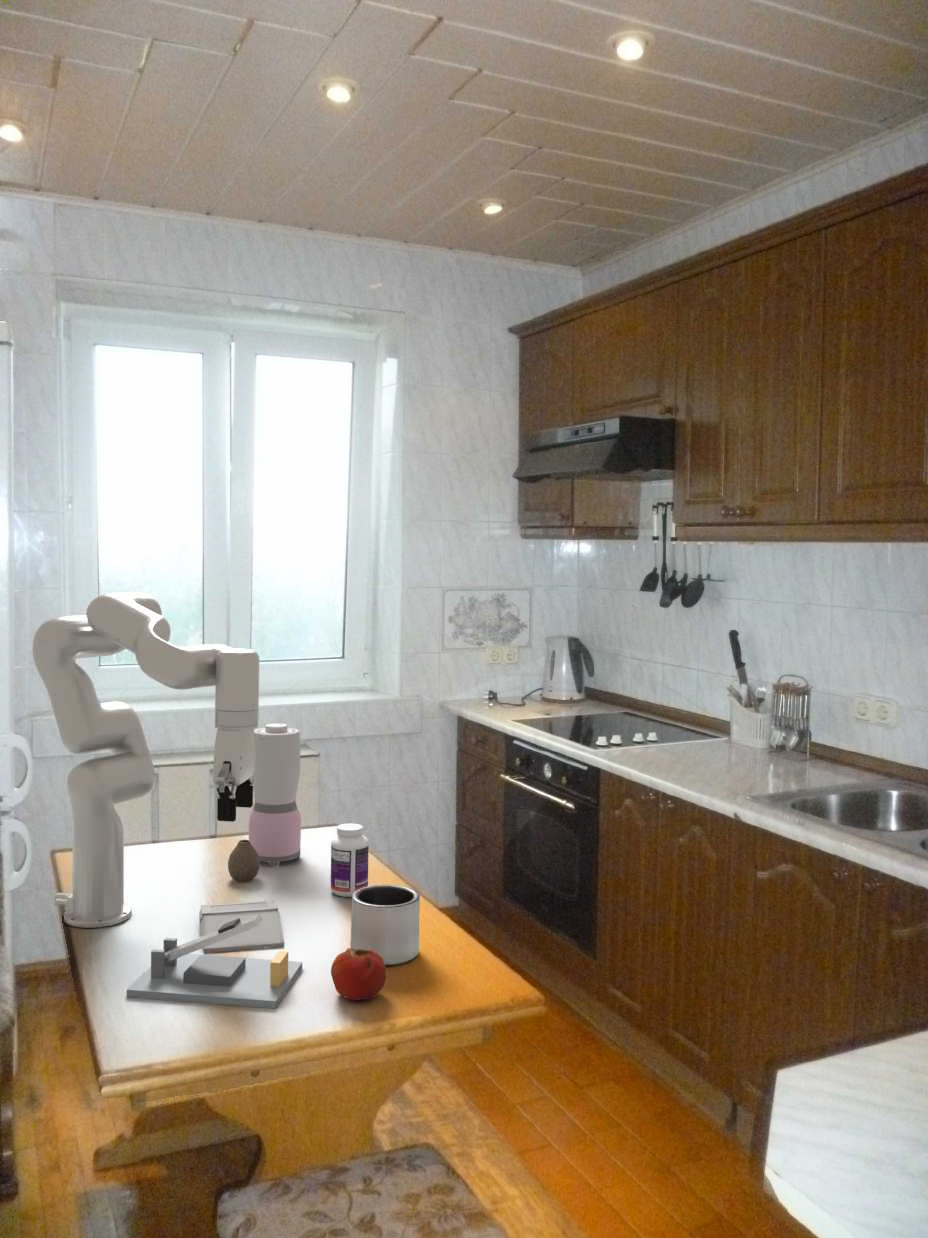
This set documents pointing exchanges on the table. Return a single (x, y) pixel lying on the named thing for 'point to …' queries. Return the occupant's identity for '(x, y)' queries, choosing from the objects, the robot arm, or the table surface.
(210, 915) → the gadget
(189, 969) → the clamp base
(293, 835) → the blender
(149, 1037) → the table surface
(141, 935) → the table surface
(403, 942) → the planter
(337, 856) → the pill bottle
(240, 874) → the vase
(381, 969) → the tomato
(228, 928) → the clamp bar
